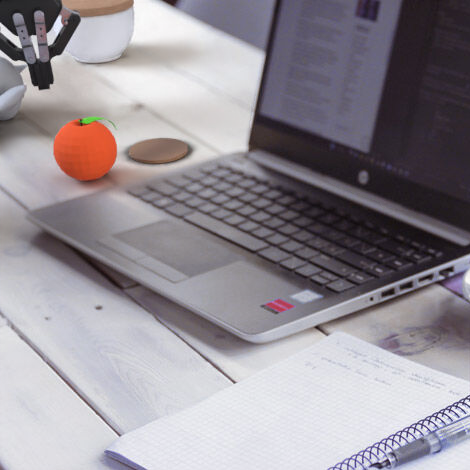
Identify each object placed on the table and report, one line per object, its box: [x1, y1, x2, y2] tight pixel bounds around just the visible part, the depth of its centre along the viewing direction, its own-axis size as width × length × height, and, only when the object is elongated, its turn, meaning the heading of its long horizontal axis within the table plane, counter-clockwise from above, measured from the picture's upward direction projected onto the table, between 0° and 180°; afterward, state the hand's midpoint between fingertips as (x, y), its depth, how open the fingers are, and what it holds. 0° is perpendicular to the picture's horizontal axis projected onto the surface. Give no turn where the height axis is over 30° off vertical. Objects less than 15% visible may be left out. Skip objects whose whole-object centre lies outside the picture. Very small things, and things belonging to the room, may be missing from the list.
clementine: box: [52, 116, 118, 182], centre depth 107 cm, size 8×7×7 cm
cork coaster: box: [128, 137, 189, 164], centre depth 115 cm, size 7×7×1 cm
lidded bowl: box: [52, 0, 135, 64], centre depth 146 cm, size 13×13×11 cm
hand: (44, 87), depth 125 cm, fingers closed
